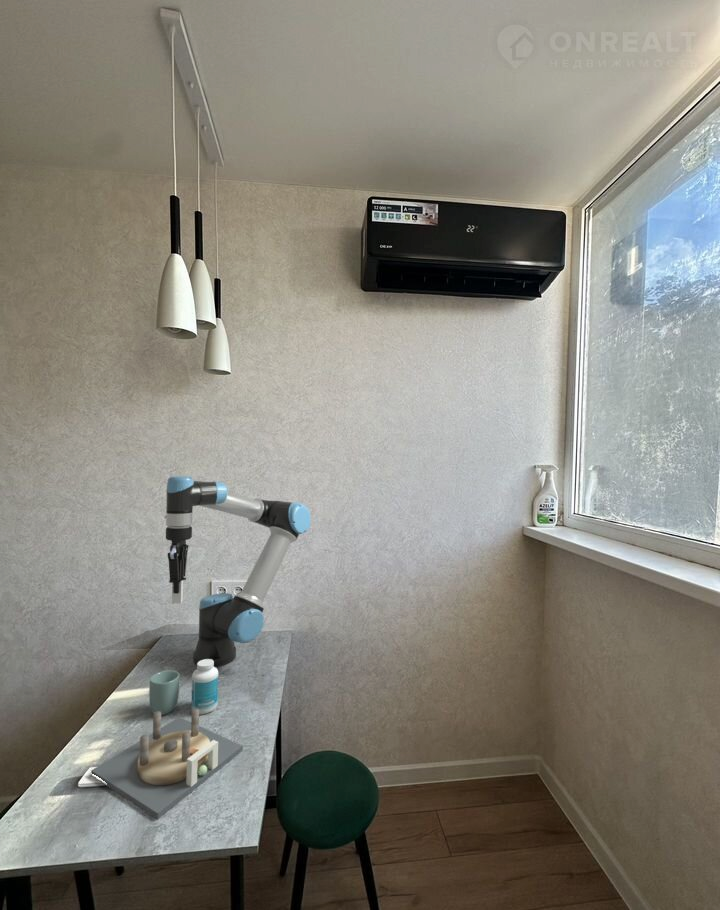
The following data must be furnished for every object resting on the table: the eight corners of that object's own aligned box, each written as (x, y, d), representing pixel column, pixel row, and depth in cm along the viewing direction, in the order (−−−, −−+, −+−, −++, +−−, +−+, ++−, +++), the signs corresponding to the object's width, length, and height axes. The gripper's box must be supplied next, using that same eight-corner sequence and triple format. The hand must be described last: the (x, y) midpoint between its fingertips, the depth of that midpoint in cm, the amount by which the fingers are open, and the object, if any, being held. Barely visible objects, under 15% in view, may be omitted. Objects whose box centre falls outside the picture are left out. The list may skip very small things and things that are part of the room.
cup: (167, 720, 120) (168, 685, 120) (142, 716, 122) (143, 681, 122) (183, 705, 128) (184, 671, 128) (160, 701, 129) (161, 668, 129)
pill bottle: (223, 706, 128) (224, 660, 128) (202, 718, 121) (203, 670, 121) (206, 698, 131) (207, 654, 132) (185, 710, 125) (186, 664, 125)
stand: (179, 721, 120) (179, 696, 120) (243, 750, 108) (243, 723, 108) (91, 775, 99) (92, 746, 99) (158, 819, 87) (159, 786, 87)
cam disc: (121, 761, 101) (122, 727, 102) (183, 728, 114) (184, 698, 115) (160, 796, 91) (161, 759, 91) (223, 755, 104) (224, 722, 104)
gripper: (173, 523, 138) (171, 596, 138) (158, 529, 125) (156, 610, 125) (197, 523, 139) (195, 595, 139) (185, 529, 126) (183, 609, 126)
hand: (177, 602), depth 132 cm, fingers closed
